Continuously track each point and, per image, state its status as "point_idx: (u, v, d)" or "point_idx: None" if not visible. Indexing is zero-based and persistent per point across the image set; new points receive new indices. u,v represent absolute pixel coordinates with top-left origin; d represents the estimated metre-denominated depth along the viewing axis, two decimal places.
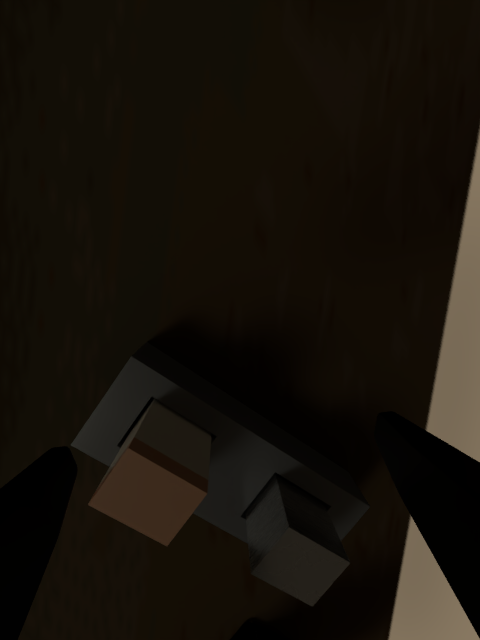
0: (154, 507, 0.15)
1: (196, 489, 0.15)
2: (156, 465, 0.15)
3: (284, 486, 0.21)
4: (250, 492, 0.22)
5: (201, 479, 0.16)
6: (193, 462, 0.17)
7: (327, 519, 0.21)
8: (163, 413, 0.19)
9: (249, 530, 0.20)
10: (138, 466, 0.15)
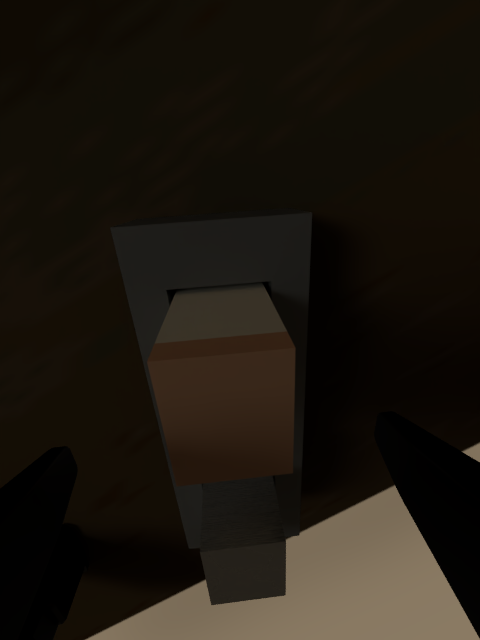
0: (222, 439, 0.09)
1: (289, 460, 0.09)
2: (291, 398, 0.08)
3: None
4: None
5: None
6: None
7: None
8: None
9: (207, 493, 0.15)
10: (273, 380, 0.08)
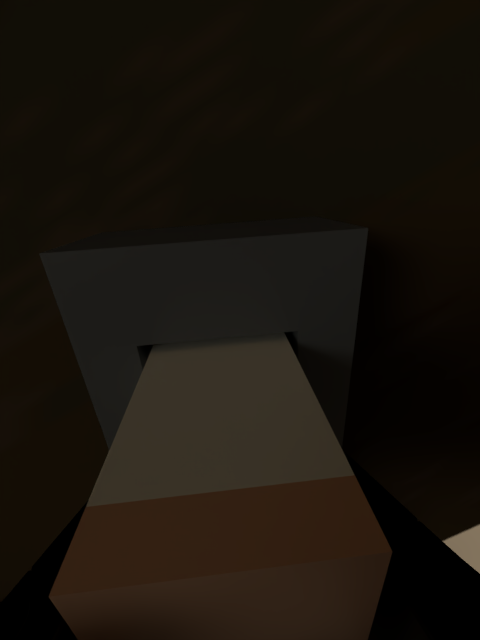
0: None
1: None
2: (365, 617, 0.04)
3: None
4: None
5: None
6: None
7: None
8: None
9: None
10: (335, 600, 0.04)
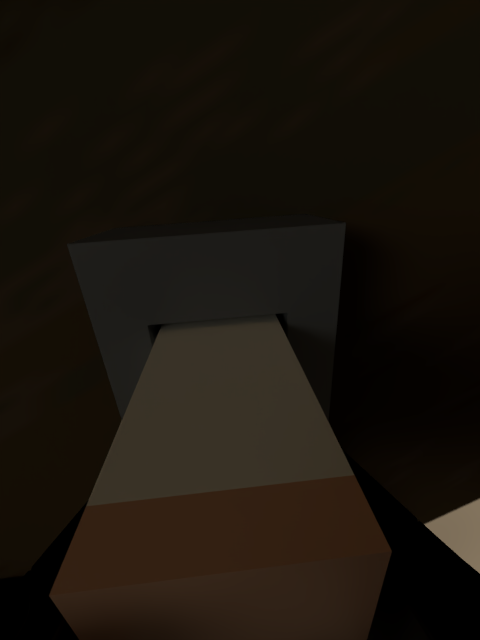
0: None
1: None
2: (364, 616, 0.04)
3: None
4: None
5: None
6: None
7: None
8: None
9: None
10: (334, 600, 0.04)
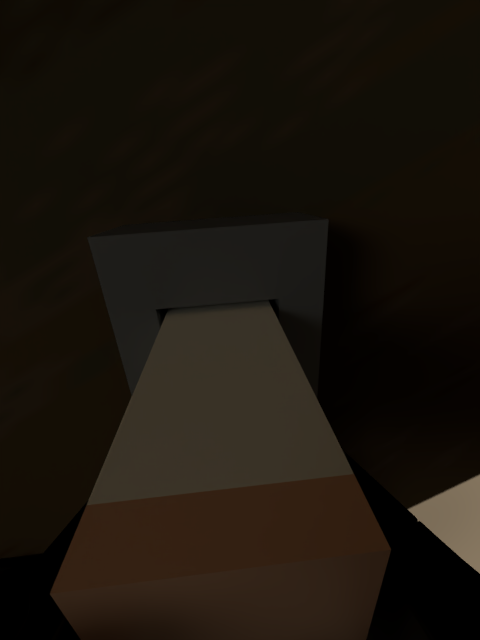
0: None
1: None
2: (364, 615, 0.04)
3: None
4: None
5: None
6: None
7: None
8: None
9: None
10: (334, 598, 0.04)
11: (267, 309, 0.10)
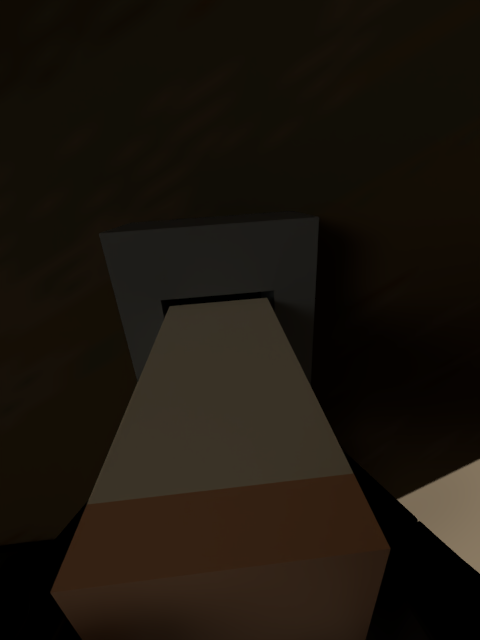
0: None
1: None
2: (363, 614, 0.04)
3: None
4: None
5: None
6: None
7: None
8: None
9: None
10: (334, 597, 0.04)
11: (267, 309, 0.10)
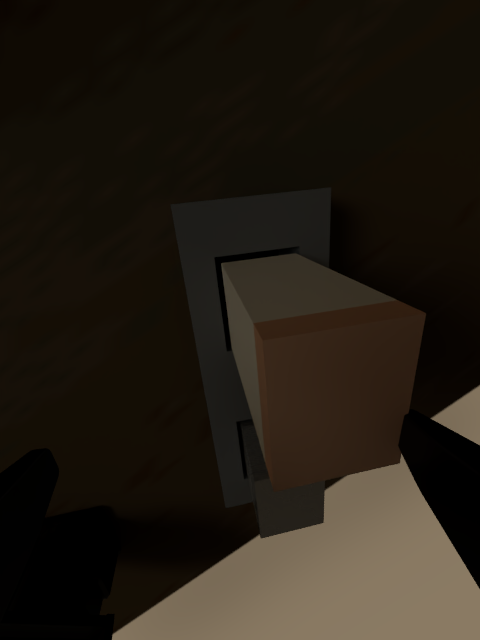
0: (332, 429, 0.08)
1: (397, 448, 0.08)
2: (410, 375, 0.07)
3: None
4: None
5: None
6: None
7: None
8: None
9: (249, 440, 0.18)
10: (397, 354, 0.07)
11: (301, 257, 0.14)
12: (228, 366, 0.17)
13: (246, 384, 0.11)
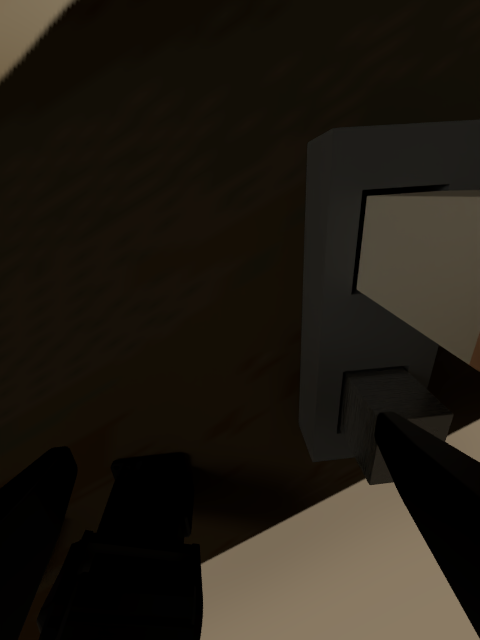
0: None
1: None
2: None
3: None
4: (375, 361, 0.19)
5: None
6: None
7: None
8: None
9: (362, 388, 0.17)
10: None
11: (458, 190, 0.13)
12: (349, 311, 0.17)
13: (419, 302, 0.11)
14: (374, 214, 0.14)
